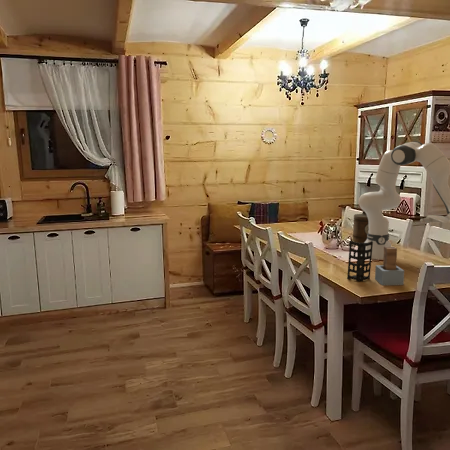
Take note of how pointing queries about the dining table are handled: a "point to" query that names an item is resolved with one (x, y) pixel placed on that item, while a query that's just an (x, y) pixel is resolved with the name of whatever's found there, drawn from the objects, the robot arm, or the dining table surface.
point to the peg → (389, 258)
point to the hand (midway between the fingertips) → (425, 222)
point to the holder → (359, 261)
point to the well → (389, 276)
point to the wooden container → (360, 227)
